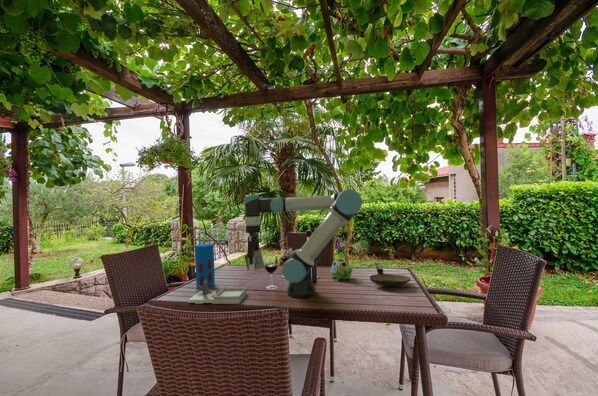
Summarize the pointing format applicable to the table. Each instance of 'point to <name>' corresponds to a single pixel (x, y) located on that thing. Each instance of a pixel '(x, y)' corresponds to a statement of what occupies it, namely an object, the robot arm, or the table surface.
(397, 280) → the oil lamp
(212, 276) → the blue tall box
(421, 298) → the table surface
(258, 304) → the table surface
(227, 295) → the board
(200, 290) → the breaker off
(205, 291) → the breaker tagged
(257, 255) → the electrical switch
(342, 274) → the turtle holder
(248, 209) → the robot arm
